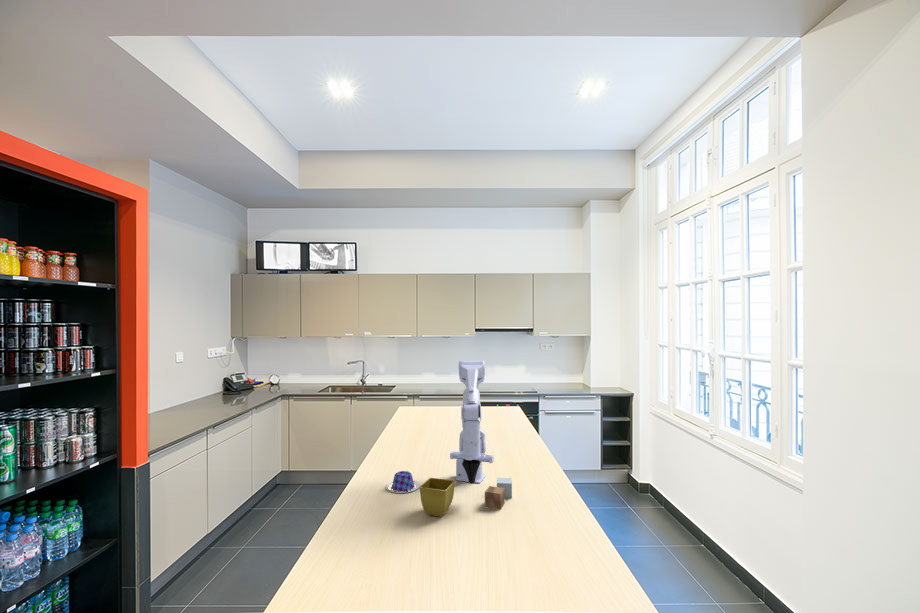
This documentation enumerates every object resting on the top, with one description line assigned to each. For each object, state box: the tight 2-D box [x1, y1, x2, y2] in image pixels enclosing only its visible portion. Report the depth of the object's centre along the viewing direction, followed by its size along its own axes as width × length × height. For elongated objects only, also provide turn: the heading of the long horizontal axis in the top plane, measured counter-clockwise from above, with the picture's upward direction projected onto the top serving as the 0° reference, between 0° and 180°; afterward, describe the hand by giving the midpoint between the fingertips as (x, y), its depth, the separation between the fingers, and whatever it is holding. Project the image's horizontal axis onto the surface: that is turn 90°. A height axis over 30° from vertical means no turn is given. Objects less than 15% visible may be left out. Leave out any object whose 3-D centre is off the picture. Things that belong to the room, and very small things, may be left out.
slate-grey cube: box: [496, 477, 513, 499], centre depth 151 cm, size 5×5×5 cm
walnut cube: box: [484, 485, 506, 511], centre depth 143 cm, size 5×5×5 cm
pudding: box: [385, 470, 421, 494], centre depth 159 cm, size 12×12×5 cm
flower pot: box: [419, 477, 456, 518], centre depth 138 cm, size 9×9×9 cm
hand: (471, 482), depth 146 cm, fingers closed
